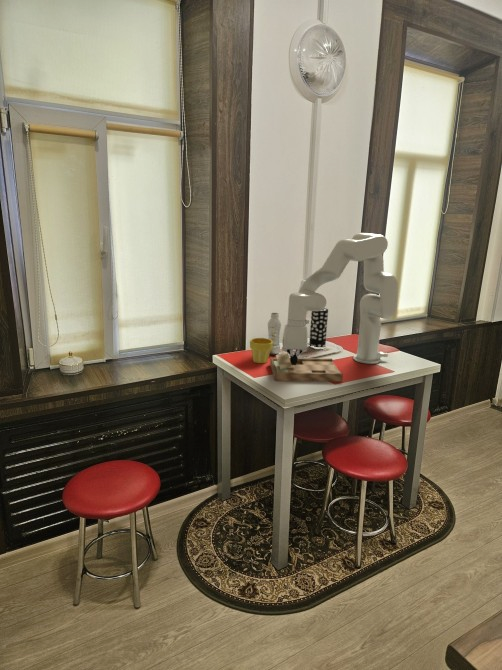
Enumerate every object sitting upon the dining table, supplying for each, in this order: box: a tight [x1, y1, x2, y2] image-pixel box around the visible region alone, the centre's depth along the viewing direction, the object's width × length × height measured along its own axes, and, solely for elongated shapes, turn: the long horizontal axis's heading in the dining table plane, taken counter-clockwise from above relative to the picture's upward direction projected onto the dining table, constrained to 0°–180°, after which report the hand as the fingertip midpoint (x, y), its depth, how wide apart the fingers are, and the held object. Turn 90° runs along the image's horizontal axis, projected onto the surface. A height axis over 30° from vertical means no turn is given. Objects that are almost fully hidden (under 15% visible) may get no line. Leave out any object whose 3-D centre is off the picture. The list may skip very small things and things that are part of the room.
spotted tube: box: [308, 307, 329, 348], centre depth 223 cm, size 8×8×20 cm
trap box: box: [269, 357, 344, 382], centre depth 189 cm, size 28×19×3 cm
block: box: [275, 351, 292, 370], centre depth 187 cm, size 5×5×5 cm
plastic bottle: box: [267, 312, 282, 355], centre depth 211 cm, size 6×7×20 cm
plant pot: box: [249, 337, 273, 364], centre depth 201 cm, size 10×10×10 cm
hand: (293, 364), depth 187 cm, fingers closed
